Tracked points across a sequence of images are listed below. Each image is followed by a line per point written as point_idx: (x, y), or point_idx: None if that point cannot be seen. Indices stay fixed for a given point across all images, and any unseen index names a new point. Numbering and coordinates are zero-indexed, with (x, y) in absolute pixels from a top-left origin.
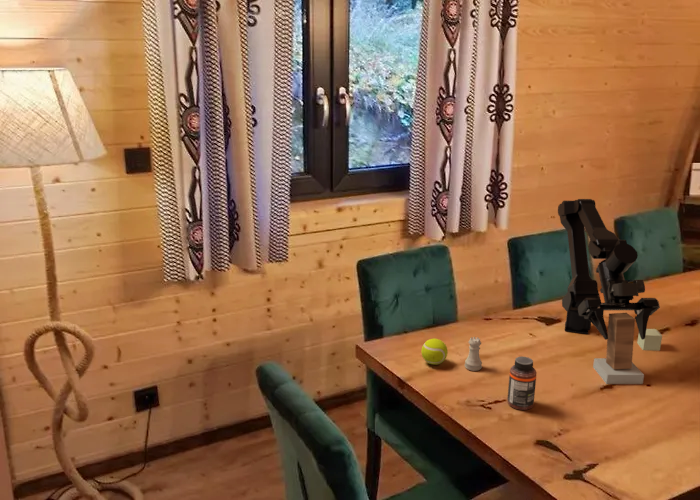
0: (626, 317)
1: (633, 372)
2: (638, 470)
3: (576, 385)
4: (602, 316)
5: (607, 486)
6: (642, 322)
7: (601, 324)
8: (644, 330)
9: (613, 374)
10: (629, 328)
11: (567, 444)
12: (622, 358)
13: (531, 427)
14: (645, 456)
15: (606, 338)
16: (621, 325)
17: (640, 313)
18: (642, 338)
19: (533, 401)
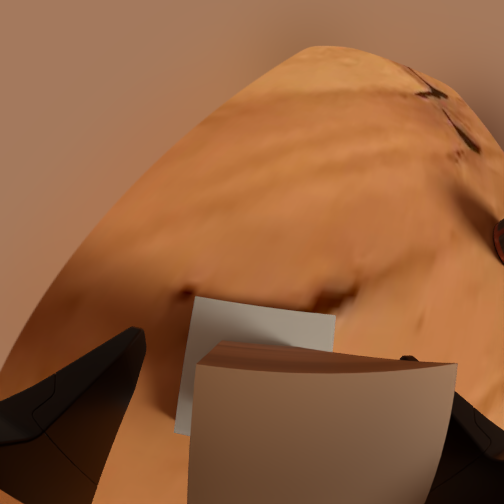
0: (303, 443)
1: (225, 321)
2: (370, 71)
3: (411, 318)
4: (497, 454)
5: (408, 72)
6: (74, 405)
7: (473, 410)
8: (104, 352)
9: (313, 315)
10: (264, 357)
11: (448, 131)
12: (271, 346)
13: (488, 180)
14: (352, 80)
15: (409, 356)
16: (366, 364)
17: (32, 494)
18: (144, 341)
19: (500, 224)
